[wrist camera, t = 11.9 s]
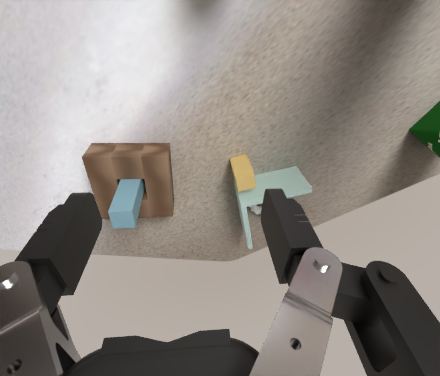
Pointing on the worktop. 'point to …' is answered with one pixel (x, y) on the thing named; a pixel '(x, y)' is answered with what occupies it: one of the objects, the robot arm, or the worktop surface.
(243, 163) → the short peg
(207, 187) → the worktop surface
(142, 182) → the long peg
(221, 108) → the worktop surface
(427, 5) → the worktop surface
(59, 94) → the worktop surface
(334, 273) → the robot arm
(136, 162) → the hole block
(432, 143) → the milk carton
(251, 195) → the l-shaped corner panel
